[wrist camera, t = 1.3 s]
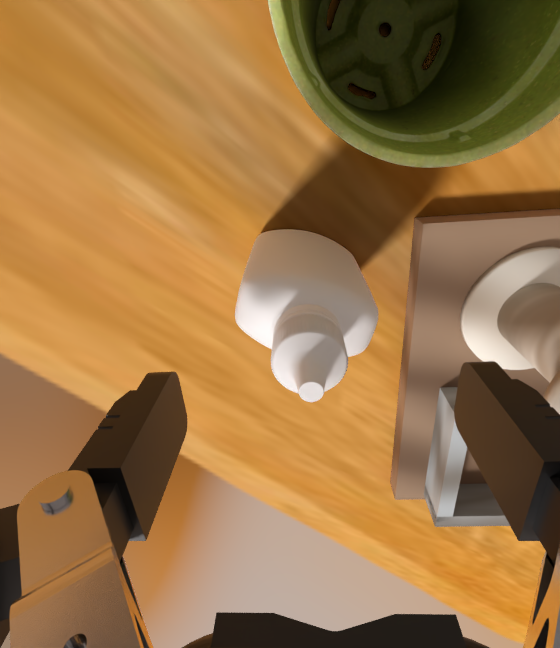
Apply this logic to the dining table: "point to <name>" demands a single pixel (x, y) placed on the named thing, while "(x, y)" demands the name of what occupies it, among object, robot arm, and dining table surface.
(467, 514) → the board
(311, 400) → the eye dropper bottle
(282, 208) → the dining table surface
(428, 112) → the plant pot
